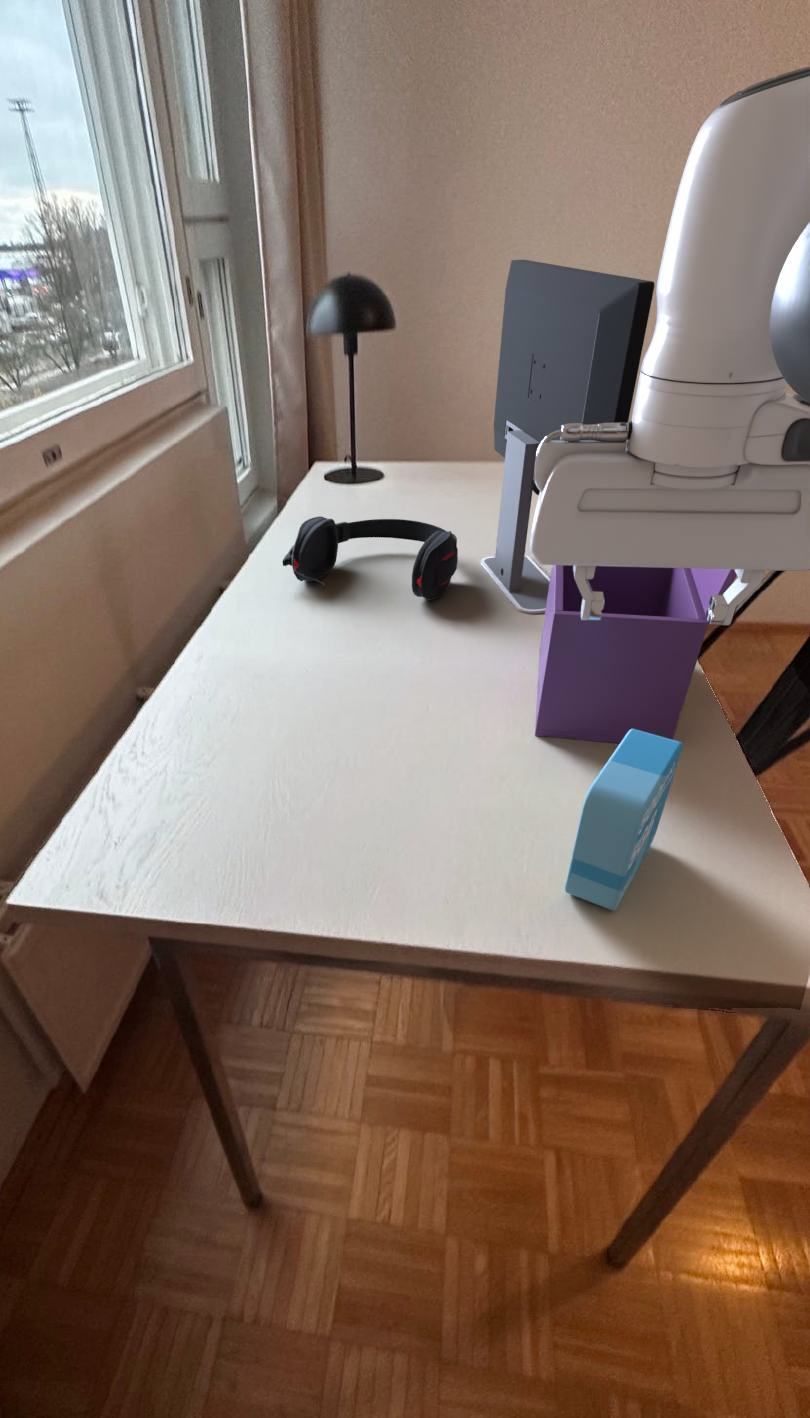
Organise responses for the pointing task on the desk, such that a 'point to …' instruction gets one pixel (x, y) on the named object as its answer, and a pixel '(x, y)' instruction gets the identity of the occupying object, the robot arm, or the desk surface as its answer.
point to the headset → (323, 535)
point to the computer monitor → (556, 388)
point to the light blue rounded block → (621, 817)
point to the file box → (618, 653)
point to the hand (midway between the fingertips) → (652, 619)
